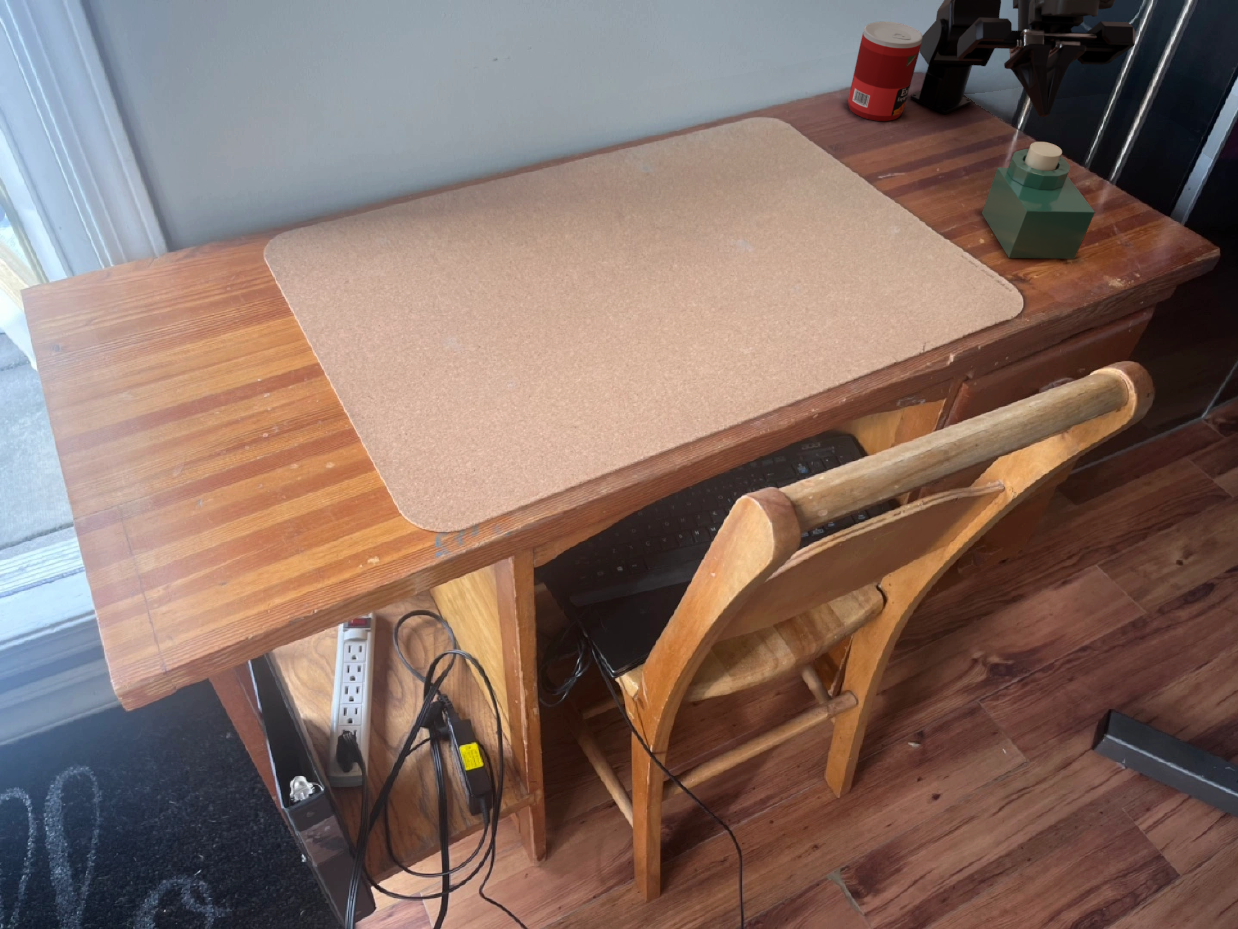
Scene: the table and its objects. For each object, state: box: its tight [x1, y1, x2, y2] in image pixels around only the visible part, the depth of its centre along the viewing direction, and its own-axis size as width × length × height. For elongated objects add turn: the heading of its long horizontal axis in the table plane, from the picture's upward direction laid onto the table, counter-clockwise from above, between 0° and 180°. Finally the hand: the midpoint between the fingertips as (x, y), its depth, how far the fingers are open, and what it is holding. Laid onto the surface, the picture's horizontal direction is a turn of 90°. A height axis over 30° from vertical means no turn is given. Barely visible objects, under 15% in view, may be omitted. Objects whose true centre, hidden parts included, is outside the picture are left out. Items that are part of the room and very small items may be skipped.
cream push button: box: [1024, 141, 1063, 171], centre depth 114 cm, size 4×4×2 cm
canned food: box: [847, 21, 923, 122], centre depth 137 cm, size 8×8×11 cm
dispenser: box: [981, 148, 1096, 260], centre depth 116 cm, size 11×8×8 cm
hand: (1044, 115), depth 114 cm, fingers closed
